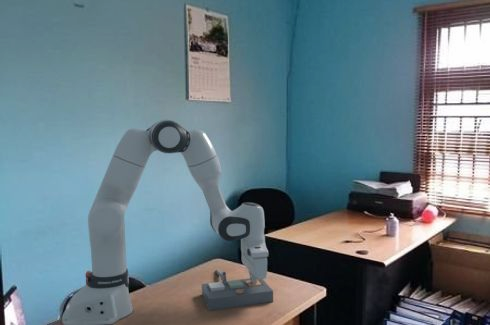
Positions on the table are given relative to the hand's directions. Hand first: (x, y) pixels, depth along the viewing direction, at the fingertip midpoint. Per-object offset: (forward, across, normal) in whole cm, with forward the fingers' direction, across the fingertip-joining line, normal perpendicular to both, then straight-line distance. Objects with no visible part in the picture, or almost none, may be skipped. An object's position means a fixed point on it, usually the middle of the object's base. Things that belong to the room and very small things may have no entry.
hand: (253, 282), depth 156 cm
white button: (+2, 0, -14) cm, 14 cm away
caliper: (+5, -18, -8) cm, 21 cm away
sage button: (+2, 0, -7) cm, 7 cm away
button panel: (+4, +2, -7) cm, 8 cm away
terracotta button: (+3, 0, 0) cm, 3 cm away
